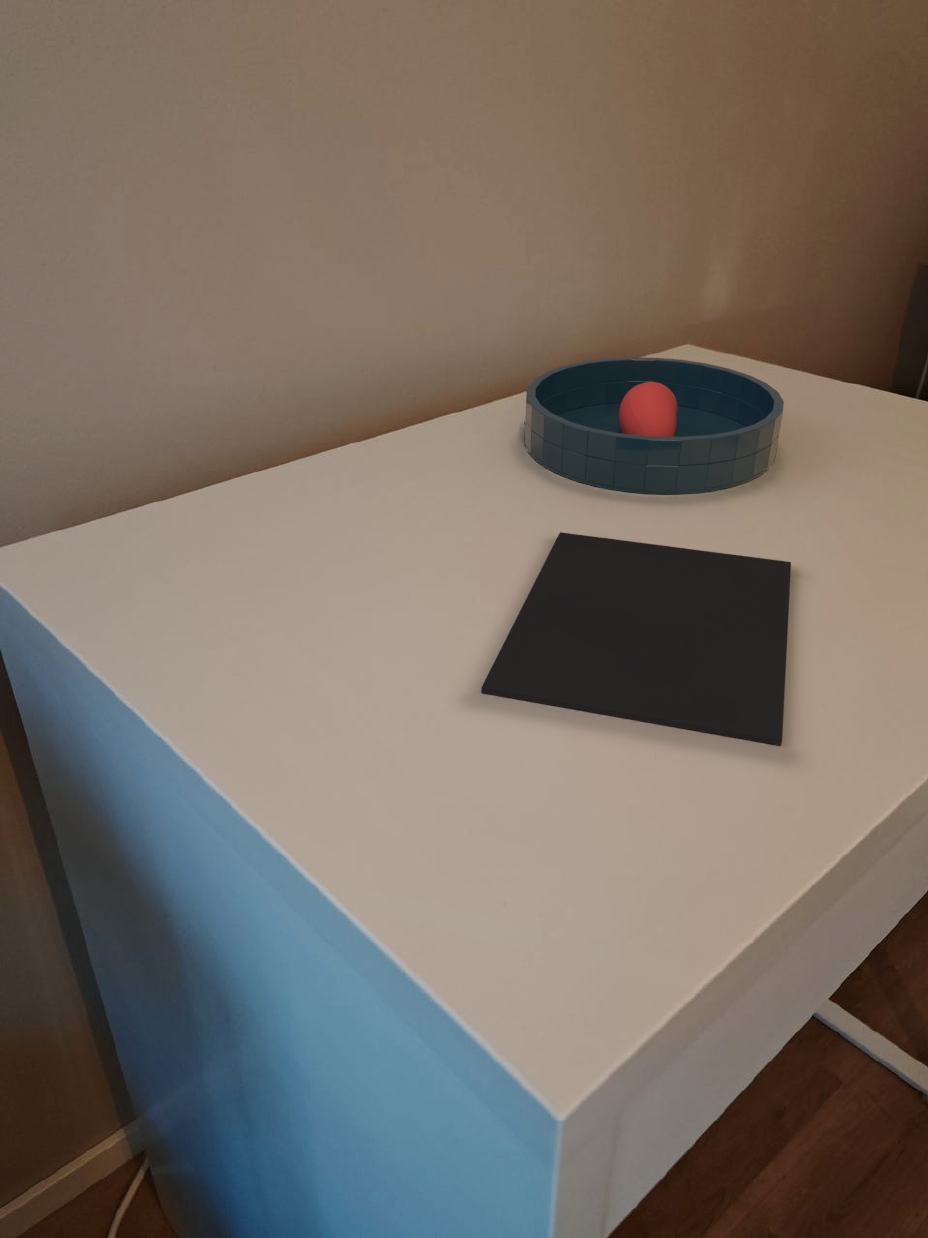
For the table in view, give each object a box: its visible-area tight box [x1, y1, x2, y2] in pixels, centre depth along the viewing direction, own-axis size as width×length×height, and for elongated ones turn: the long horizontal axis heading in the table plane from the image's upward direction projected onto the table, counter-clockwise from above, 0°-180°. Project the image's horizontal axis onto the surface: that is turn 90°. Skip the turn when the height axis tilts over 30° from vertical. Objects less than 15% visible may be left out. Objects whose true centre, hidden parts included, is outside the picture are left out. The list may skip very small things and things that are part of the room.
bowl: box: [524, 356, 785, 495], centre depth 84 cm, size 22×22×4 cm
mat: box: [481, 531, 792, 746], centre depth 59 cm, size 16×20×1 cm
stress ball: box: [619, 382, 677, 437], centre depth 84 cm, size 5×9×6 cm, turn 157°
